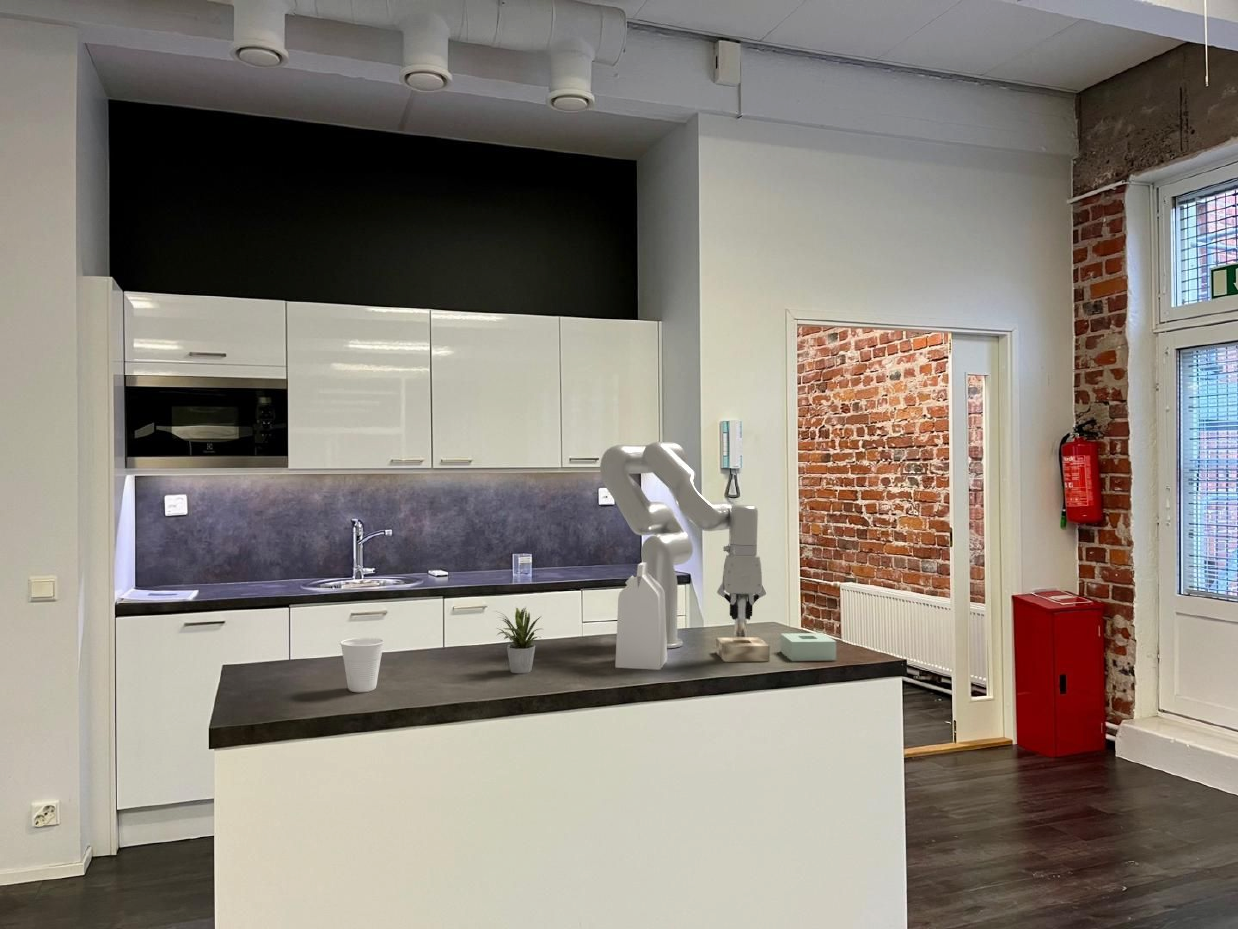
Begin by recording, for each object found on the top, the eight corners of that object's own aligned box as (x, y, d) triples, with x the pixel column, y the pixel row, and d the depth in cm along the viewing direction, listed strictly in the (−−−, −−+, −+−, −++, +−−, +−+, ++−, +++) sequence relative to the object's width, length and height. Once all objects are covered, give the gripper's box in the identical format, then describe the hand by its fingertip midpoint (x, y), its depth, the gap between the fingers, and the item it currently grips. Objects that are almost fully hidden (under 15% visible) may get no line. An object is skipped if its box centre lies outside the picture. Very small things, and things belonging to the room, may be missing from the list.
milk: (660, 669, 242) (660, 566, 242) (615, 667, 245) (616, 565, 244) (667, 659, 254) (667, 561, 254) (624, 657, 256) (625, 560, 256)
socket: (791, 660, 254) (791, 642, 254) (780, 651, 266) (780, 633, 266) (836, 660, 255) (836, 641, 255) (822, 651, 267) (822, 633, 267)
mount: (724, 661, 252) (724, 646, 252) (716, 652, 264) (716, 637, 264) (769, 661, 253) (769, 646, 253) (759, 651, 265) (759, 637, 265)
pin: (735, 637, 257) (736, 592, 257) (733, 634, 261) (734, 590, 260) (747, 637, 258) (748, 592, 257) (744, 634, 261) (746, 590, 261)
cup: (388, 684, 225) (388, 637, 225) (379, 695, 215) (379, 645, 215) (345, 684, 225) (345, 637, 224) (334, 694, 215) (334, 645, 215)
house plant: (483, 666, 245) (484, 602, 245) (536, 662, 250) (536, 599, 250) (497, 678, 232) (497, 610, 231) (552, 674, 237) (552, 607, 236)
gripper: (715, 552, 254) (713, 621, 255) (776, 553, 256) (774, 621, 256) (710, 548, 262) (708, 616, 262) (769, 549, 263) (767, 616, 263)
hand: (740, 618), depth 259 cm, fingers closed on pin, 3 cm apart
